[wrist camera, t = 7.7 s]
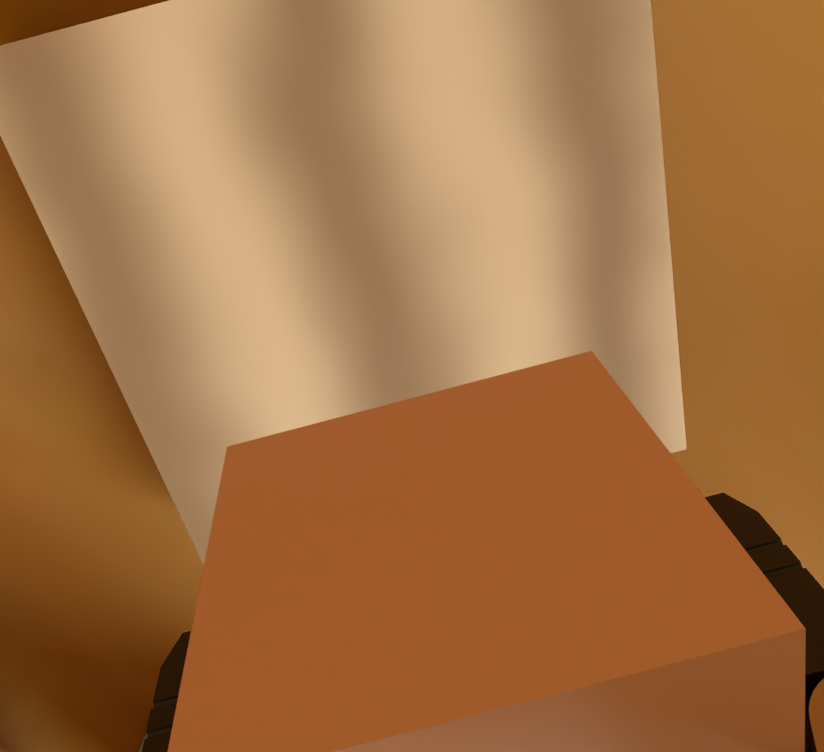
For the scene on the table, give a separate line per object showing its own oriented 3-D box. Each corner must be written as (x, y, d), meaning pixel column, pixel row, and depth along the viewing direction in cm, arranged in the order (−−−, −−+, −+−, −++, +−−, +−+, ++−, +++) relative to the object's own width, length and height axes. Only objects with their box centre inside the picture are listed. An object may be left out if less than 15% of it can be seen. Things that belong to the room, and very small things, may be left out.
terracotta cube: (591, 351, 10) (806, 628, 6) (629, 620, 12) (802, 968, 8) (227, 446, 10) (158, 797, 6) (331, 697, 12) (339, 1088, 8)
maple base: (598, -110, 20) (640, -125, 17) (650, 404, 27) (686, 449, 25) (9, 47, 20) (-38, 55, 18) (218, 517, 28) (207, 574, 25)
